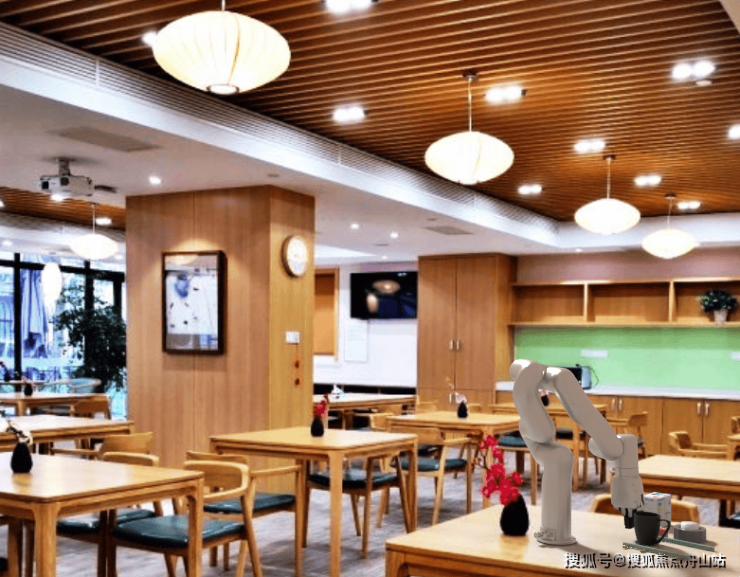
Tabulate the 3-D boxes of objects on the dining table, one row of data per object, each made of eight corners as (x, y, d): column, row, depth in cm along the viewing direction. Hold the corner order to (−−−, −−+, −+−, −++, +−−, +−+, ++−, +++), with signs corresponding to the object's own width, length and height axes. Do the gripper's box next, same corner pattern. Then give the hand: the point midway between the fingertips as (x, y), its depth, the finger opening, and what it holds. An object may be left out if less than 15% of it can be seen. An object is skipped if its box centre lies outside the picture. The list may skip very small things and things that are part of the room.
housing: (696, 545, 287) (697, 532, 287) (668, 539, 294) (668, 527, 295) (711, 540, 294) (711, 528, 294) (682, 534, 301) (682, 522, 302)
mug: (661, 550, 280) (663, 520, 280) (627, 542, 289) (629, 512, 289) (675, 547, 285) (676, 517, 286) (641, 539, 294) (642, 510, 294)
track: (683, 562, 267) (683, 558, 267) (618, 547, 283) (618, 543, 283) (714, 550, 280) (714, 547, 280) (650, 537, 296) (650, 534, 296)
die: (666, 539, 295) (666, 528, 295) (656, 537, 296) (656, 527, 297) (668, 537, 297) (668, 527, 298) (659, 536, 299) (659, 525, 299)
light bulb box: (654, 521, 321) (654, 491, 321) (671, 525, 316) (672, 494, 316) (639, 526, 313) (639, 495, 313) (657, 529, 308) (657, 498, 309)
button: (693, 541, 290) (693, 526, 291) (677, 538, 294) (677, 523, 295) (701, 538, 294) (701, 523, 294) (685, 535, 298) (685, 520, 298)
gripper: (600, 471, 298) (603, 527, 297) (641, 476, 287) (644, 533, 287) (612, 468, 303) (615, 522, 302) (653, 472, 292) (656, 529, 292)
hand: (629, 528), depth 294 cm, fingers closed
